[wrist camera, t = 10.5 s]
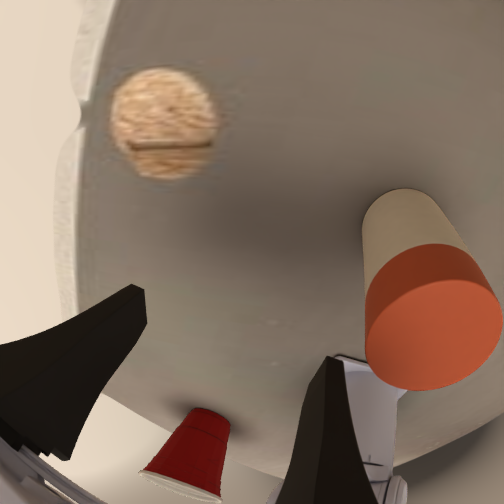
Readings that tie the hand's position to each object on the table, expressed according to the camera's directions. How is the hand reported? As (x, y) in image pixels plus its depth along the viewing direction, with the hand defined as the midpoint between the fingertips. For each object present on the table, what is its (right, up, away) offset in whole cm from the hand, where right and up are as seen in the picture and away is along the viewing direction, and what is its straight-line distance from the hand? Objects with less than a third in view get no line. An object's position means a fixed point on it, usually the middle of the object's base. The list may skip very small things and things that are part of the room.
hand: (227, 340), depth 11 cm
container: (+10, +4, +6) cm, 12 cm away
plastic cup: (-4, -19, +27) cm, 34 cm away
